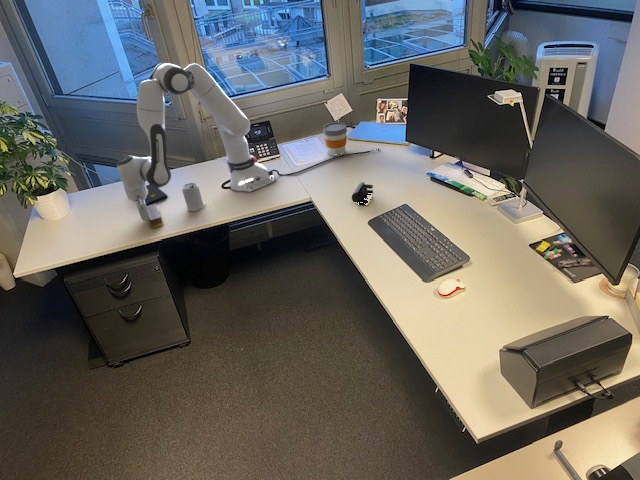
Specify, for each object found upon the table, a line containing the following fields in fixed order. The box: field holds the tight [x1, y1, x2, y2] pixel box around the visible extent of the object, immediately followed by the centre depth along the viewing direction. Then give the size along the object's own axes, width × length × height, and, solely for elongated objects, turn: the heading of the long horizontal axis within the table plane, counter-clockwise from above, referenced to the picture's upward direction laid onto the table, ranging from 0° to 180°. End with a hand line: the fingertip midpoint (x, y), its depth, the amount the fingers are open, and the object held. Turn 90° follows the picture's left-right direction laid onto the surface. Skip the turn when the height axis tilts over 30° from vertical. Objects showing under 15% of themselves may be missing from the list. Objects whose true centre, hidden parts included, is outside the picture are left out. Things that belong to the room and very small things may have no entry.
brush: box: [147, 203, 163, 229], centre depth 211 cm, size 5×14×4 cm, turn 25°
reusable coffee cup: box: [322, 121, 348, 157], centre depth 250 cm, size 13×13×15 cm
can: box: [181, 182, 204, 212], centre depth 215 cm, size 8×8×12 cm
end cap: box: [351, 181, 374, 207], centre depth 208 cm, size 10×7×7 cm
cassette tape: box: [145, 183, 168, 206], centre depth 231 cm, size 18×12×2 cm, turn 40°
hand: (146, 218), depth 211 cm, fingers closed, pressing on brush
